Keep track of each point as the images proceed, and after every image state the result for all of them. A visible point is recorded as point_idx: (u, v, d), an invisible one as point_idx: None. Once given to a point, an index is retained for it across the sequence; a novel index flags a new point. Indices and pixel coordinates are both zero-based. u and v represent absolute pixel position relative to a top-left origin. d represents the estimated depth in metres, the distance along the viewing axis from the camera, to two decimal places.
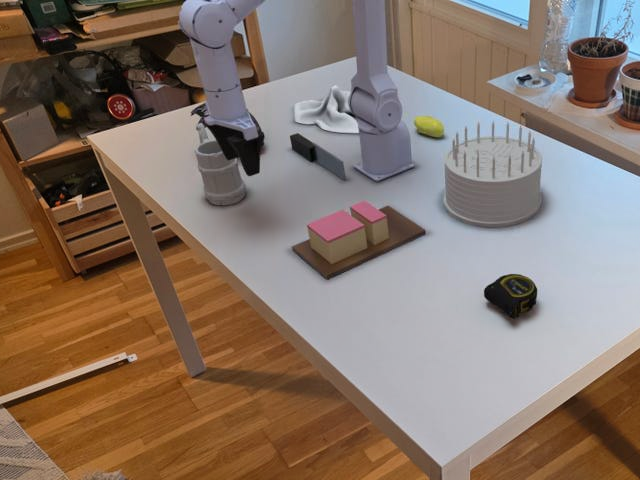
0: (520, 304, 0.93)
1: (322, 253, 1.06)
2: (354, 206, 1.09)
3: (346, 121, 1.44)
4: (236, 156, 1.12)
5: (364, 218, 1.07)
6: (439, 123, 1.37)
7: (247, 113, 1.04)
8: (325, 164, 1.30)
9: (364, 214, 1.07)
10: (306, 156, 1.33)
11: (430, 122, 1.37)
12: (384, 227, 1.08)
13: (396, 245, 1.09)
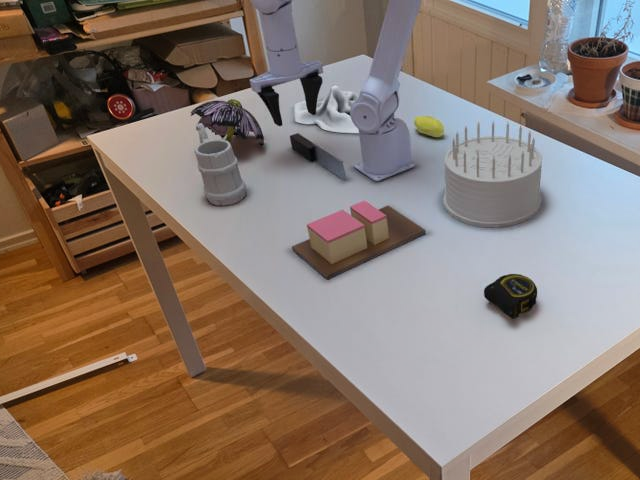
0: (520, 304, 0.93)
1: (322, 253, 1.06)
2: (354, 206, 1.09)
3: (346, 121, 1.44)
4: (312, 113, 1.29)
5: (364, 218, 1.07)
6: (439, 123, 1.37)
7: (281, 77, 1.20)
8: (325, 164, 1.30)
9: (364, 214, 1.07)
10: (306, 156, 1.33)
11: (430, 122, 1.37)
12: (384, 227, 1.08)
13: (396, 245, 1.09)
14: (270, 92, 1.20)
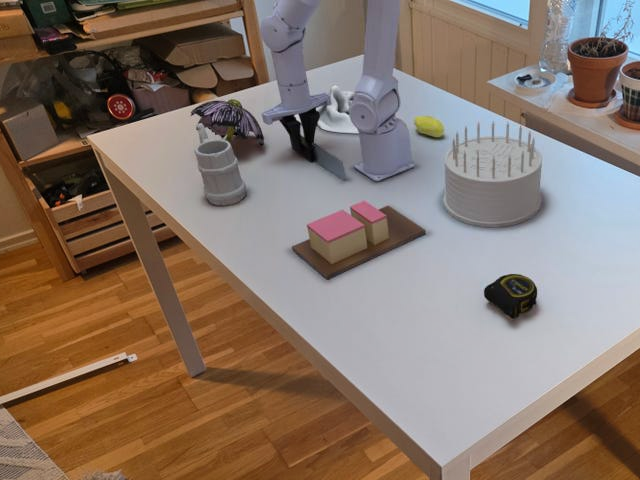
0: (520, 304, 0.93)
1: (322, 253, 1.06)
2: (354, 206, 1.09)
3: (346, 121, 1.44)
4: None
5: (364, 218, 1.07)
6: (439, 123, 1.37)
7: (291, 110, 1.26)
8: (325, 164, 1.30)
9: (364, 214, 1.07)
10: (306, 156, 1.33)
11: (430, 122, 1.37)
12: (384, 227, 1.08)
13: (396, 245, 1.09)
14: (292, 120, 1.27)
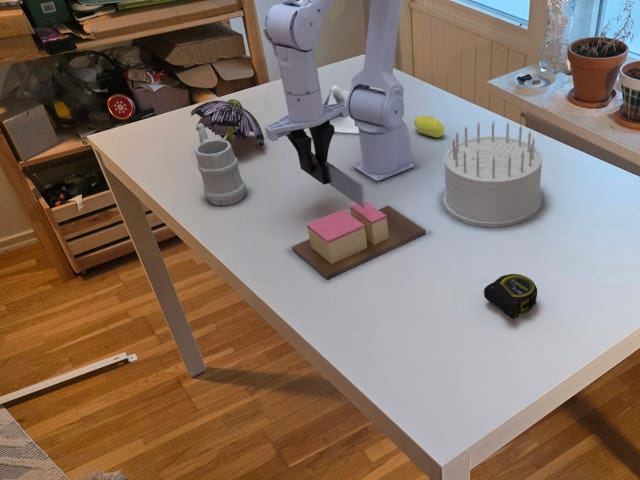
0: (520, 304, 0.93)
1: (322, 253, 1.06)
2: (354, 206, 1.09)
3: (346, 121, 1.44)
4: None
5: (364, 218, 1.07)
6: (439, 123, 1.37)
7: (301, 123, 1.04)
8: (340, 188, 1.08)
9: (364, 214, 1.07)
10: (317, 177, 1.12)
11: (430, 122, 1.37)
12: (384, 227, 1.08)
13: (396, 245, 1.09)
14: (302, 136, 1.06)
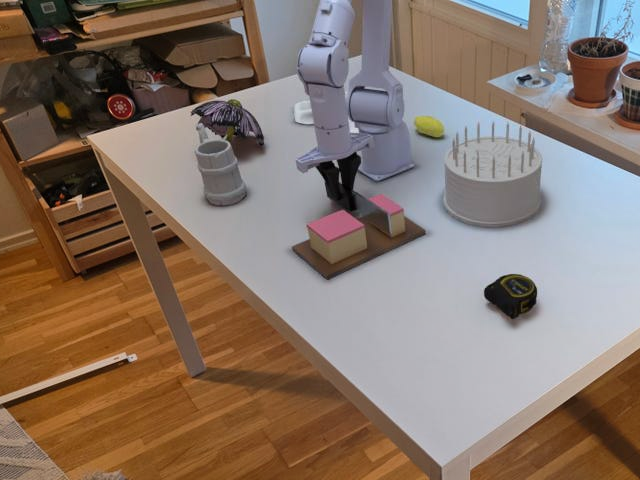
0: (520, 304, 0.93)
1: (322, 253, 1.06)
2: (371, 199, 1.11)
3: None
4: None
5: None
6: (439, 123, 1.37)
7: (330, 155, 1.08)
8: (367, 215, 1.12)
9: (381, 207, 1.09)
10: (344, 205, 1.16)
11: (430, 122, 1.37)
12: (400, 220, 1.09)
13: (396, 245, 1.09)
14: (330, 167, 1.10)
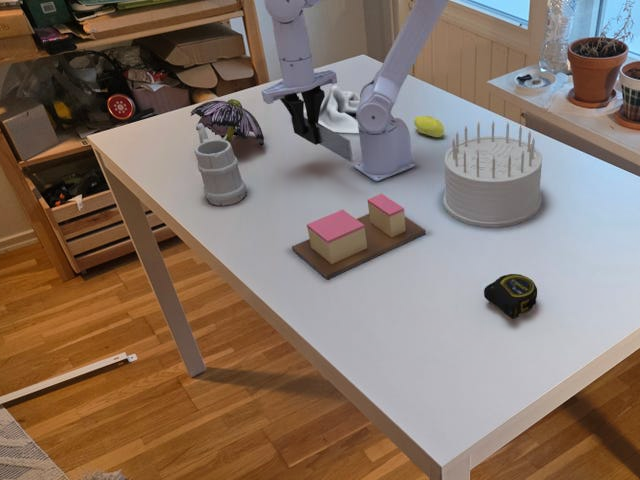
0: (520, 304, 0.93)
1: (322, 253, 1.06)
2: (372, 199, 1.11)
3: (346, 121, 1.44)
4: None
5: (382, 211, 1.08)
6: (439, 123, 1.37)
7: (294, 87, 1.15)
8: (330, 146, 1.19)
9: (382, 207, 1.09)
10: (309, 139, 1.23)
11: (430, 122, 1.37)
12: (401, 219, 1.09)
13: (396, 245, 1.09)
14: (295, 99, 1.17)
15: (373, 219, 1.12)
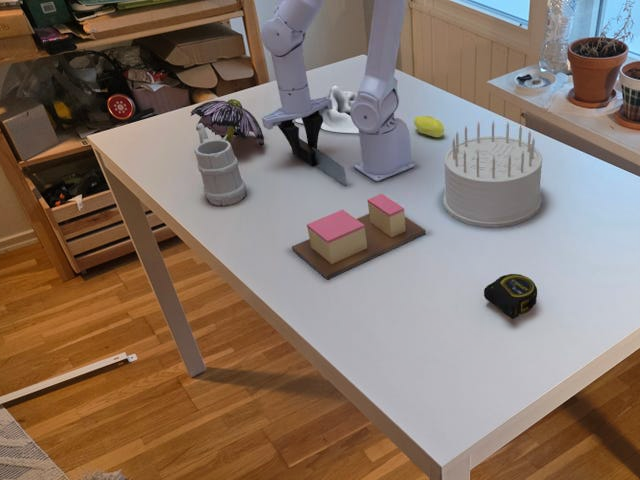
0: (520, 304, 0.93)
1: (322, 253, 1.06)
2: (372, 199, 1.11)
3: (346, 121, 1.44)
4: None
5: (382, 211, 1.08)
6: (439, 123, 1.37)
7: (292, 114, 1.24)
8: (326, 169, 1.28)
9: (382, 207, 1.09)
10: (307, 161, 1.31)
11: (430, 122, 1.37)
12: (401, 219, 1.09)
13: (396, 245, 1.09)
14: (290, 126, 1.26)
15: (373, 219, 1.12)
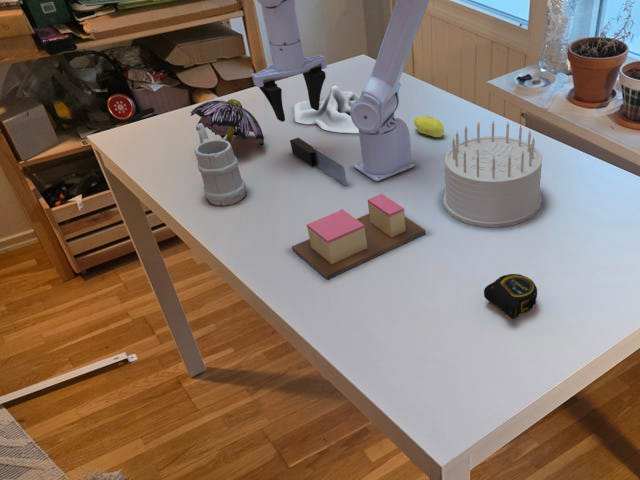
0: (520, 304, 0.93)
1: (322, 253, 1.06)
2: (372, 199, 1.11)
3: (346, 121, 1.44)
4: (315, 108, 1.28)
5: (382, 211, 1.08)
6: (439, 123, 1.37)
7: (284, 71, 1.18)
8: (326, 169, 1.28)
9: (382, 207, 1.09)
10: (307, 161, 1.31)
11: (430, 122, 1.37)
12: (401, 219, 1.09)
13: (396, 245, 1.09)
14: (273, 87, 1.19)
15: (373, 219, 1.12)
